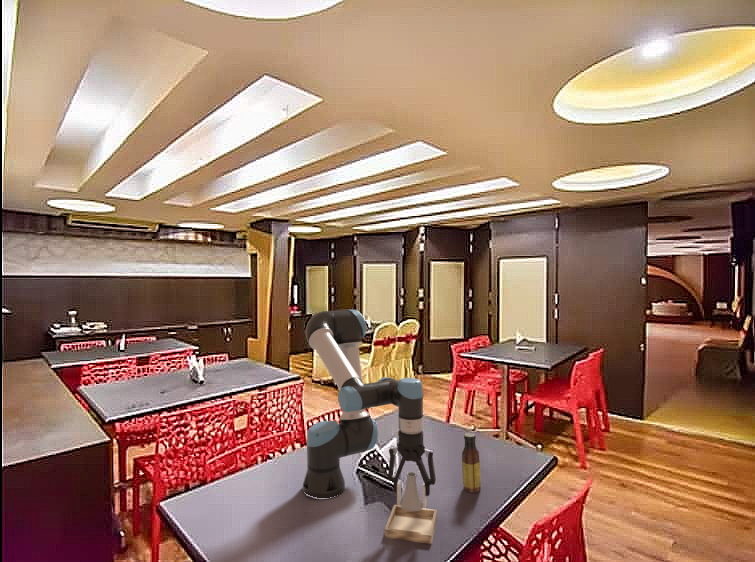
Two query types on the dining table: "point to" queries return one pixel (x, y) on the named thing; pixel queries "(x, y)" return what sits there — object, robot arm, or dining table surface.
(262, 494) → the dining table surface
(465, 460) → the sauce bottle
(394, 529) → the serving tray
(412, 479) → the flask
